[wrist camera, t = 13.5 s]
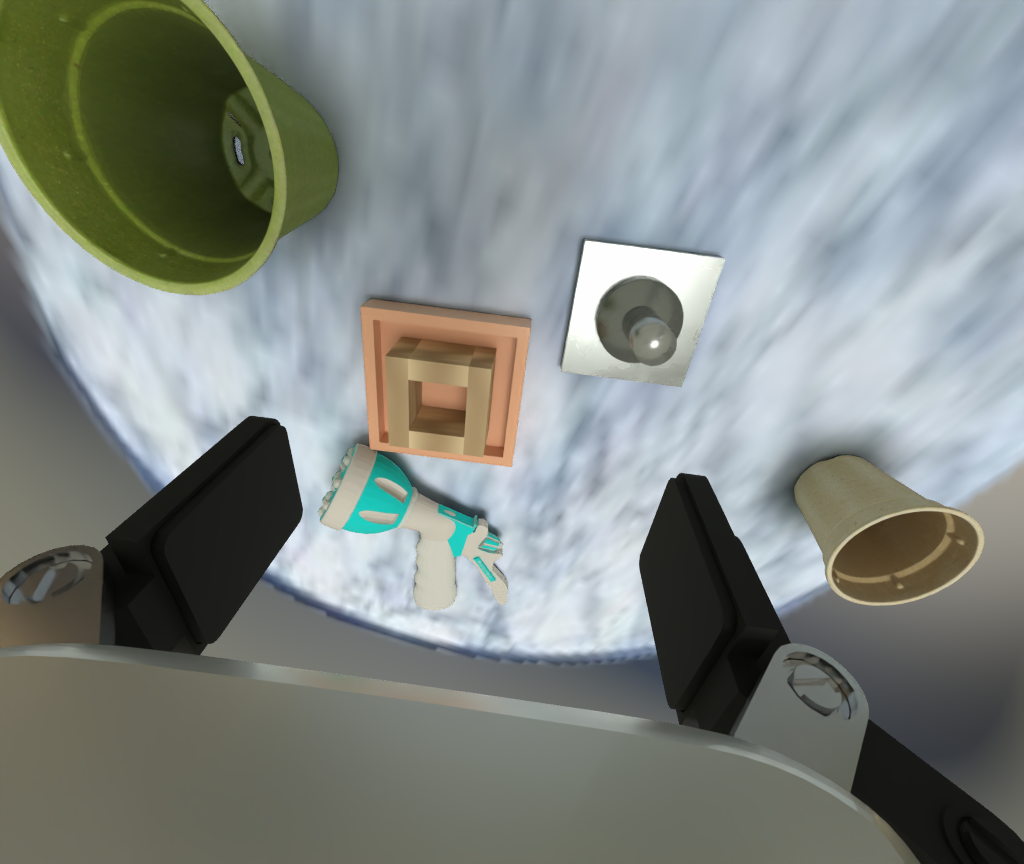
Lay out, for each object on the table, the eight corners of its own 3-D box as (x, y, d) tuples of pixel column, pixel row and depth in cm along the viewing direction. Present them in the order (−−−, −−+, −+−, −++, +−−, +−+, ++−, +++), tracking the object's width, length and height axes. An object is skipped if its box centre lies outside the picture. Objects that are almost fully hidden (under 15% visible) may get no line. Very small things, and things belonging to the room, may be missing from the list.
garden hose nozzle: (505, 636, 45) (539, 502, 33) (329, 628, 43) (296, 483, 31) (504, 575, 50) (533, 442, 38) (349, 566, 49) (328, 423, 36)
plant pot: (300, -20, 23) (125, -161, 13) (409, 213, 28) (342, 234, 19) (138, 90, 26) (-104, 39, 16) (265, 283, 31) (142, 332, 21)
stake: (719, 256, 29) (763, 276, 23) (677, 381, 33) (705, 423, 28) (583, 238, 28) (594, 254, 23) (560, 366, 33) (564, 405, 27)
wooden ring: (496, 348, 32) (491, 369, 29) (488, 429, 36) (483, 457, 32) (401, 336, 32) (385, 355, 28) (403, 419, 36) (388, 445, 32)
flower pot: (761, 527, 40) (812, 607, 33) (784, 439, 35) (849, 510, 28) (871, 523, 39) (949, 605, 32) (910, 433, 34) (1012, 505, 27)
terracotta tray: (531, 319, 31) (530, 328, 30) (513, 452, 37) (511, 466, 35) (370, 298, 31) (360, 306, 29) (378, 435, 37) (369, 449, 35)
